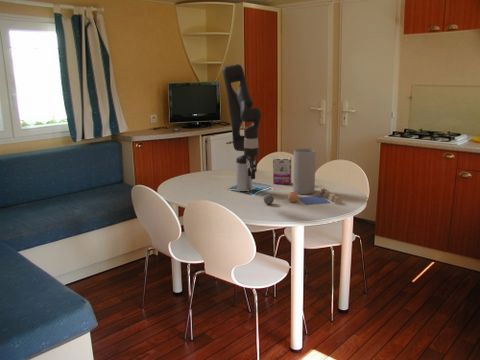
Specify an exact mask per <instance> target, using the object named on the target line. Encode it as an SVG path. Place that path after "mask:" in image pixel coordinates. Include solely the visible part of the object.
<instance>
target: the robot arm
mask: <svg viewBox="0 0 480 360" xmlns="http://www.w3.org/2000/svg"><path fill="white" fill-rule="evenodd" d="M245 75H246V74H245V72H244V69H243V66H242V65H241V64H238V63H237V64H231V65H226V66H223V68H222V76H223V81H224V87H225V90H226V98H227V103H228V104H227V106H228V110H229V111H228V112H229V118H230V124H231V133H232V134H231V135H232V145H233V148H234V149H233V150H235V151H237V152H243V155H240V156H238V157H236V160H235V161H236V162H235V164H236V165H235V166H236V191H237V190H238V191H237V192H240V191H247V190H251V189H252V190H253V180H256V172H258V171H257V168H258V161H257V159H256V157H257V156H259V140H258V139H259V137H258V136H259V135H258V134H259V132H258V131H259V127H260V126H259V125H260V122H261V119H262V112H261V110H260V109H259V108H258V107H253V105H254V101H253V99H252V96H251V95H250V92H249V89H248V83H247V79H246V76H245ZM238 82H239V83H240V84H239V87H238V89H237V92H236V91H235V90H234V89H233V86H232V83H238ZM243 123H251V125H248V126H245V127H244V130H243V131H244V132H243V134H244V135H241V126H242V124H243ZM252 190H251V191H252Z"/></svg>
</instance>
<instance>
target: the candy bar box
mask: <svg viewBox="0 0 480 360" xmlns="http://www.w3.org/2000/svg"><path fill="white" fill-rule="evenodd" d="M272 167H273V170H272V173H273V175H272V177H273V178H272V179H273V182H272V183H273V184H274V185H291V184H292V158H291V157H274V158H273V161H272Z"/></svg>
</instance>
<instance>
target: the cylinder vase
mask: <svg viewBox="0 0 480 360" xmlns="http://www.w3.org/2000/svg"><path fill="white" fill-rule="evenodd" d="M292 178H293V180H292V181H293V185H292V186H293V188H292V189H293V191H292V192H295V193H297V194H298V195H311V194H314V193H315V188H316V187H315V186H316V184H315V183H316V149H312V148H296V149H294V150H293V177H292Z"/></svg>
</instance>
